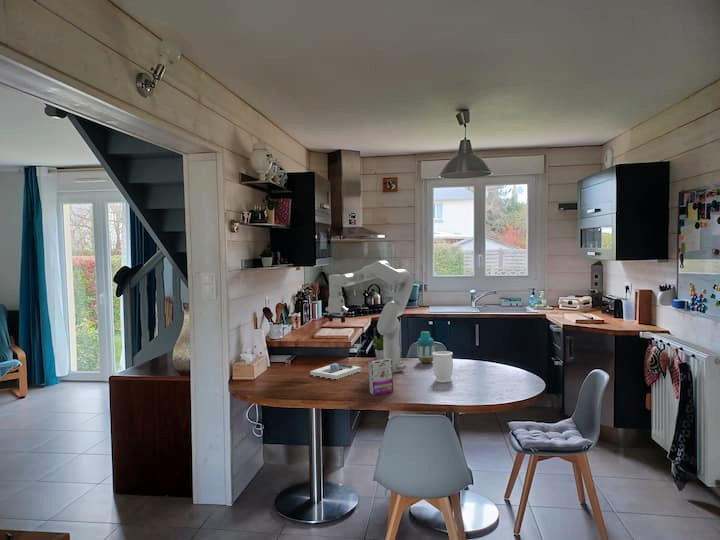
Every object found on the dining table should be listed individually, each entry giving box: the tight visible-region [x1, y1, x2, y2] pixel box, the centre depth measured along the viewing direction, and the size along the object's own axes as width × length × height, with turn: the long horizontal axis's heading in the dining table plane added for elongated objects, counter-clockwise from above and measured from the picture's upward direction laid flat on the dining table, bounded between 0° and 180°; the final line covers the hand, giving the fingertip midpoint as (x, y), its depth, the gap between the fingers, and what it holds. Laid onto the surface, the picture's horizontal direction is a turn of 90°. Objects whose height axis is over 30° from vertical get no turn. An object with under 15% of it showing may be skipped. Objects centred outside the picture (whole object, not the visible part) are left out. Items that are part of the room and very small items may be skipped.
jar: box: [432, 350, 454, 384], centre depth 262 cm, size 11×10×15 cm
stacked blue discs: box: [329, 363, 340, 373], centre depth 288 cm, size 5×5×6 cm
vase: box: [416, 330, 436, 364], centre depth 305 cm, size 11×11×19 cm
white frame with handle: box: [309, 364, 362, 380], centre depth 289 cm, size 20×22×2 cm
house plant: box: [371, 335, 384, 360], centre depth 321 cm, size 14×14×16 cm
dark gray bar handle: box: [332, 362, 354, 368], centre depth 294 cm, size 14×2×2 cm, turn 51°
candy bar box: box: [367, 358, 394, 396], centre depth 246 cm, size 11×5×16 cm, turn 114°
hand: (337, 322), depth 305 cm, fingers open, 9 cm apart
